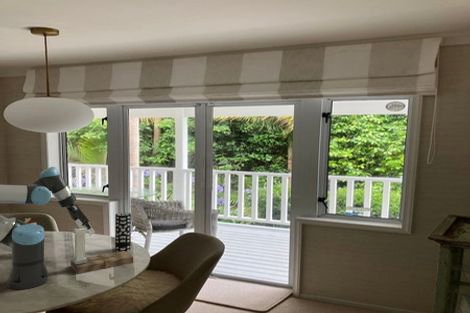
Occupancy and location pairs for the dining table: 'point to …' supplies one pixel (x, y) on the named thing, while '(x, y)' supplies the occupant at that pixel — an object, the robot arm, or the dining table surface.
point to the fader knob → (79, 245)
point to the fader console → (102, 262)
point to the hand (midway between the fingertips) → (88, 231)
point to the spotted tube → (122, 232)
